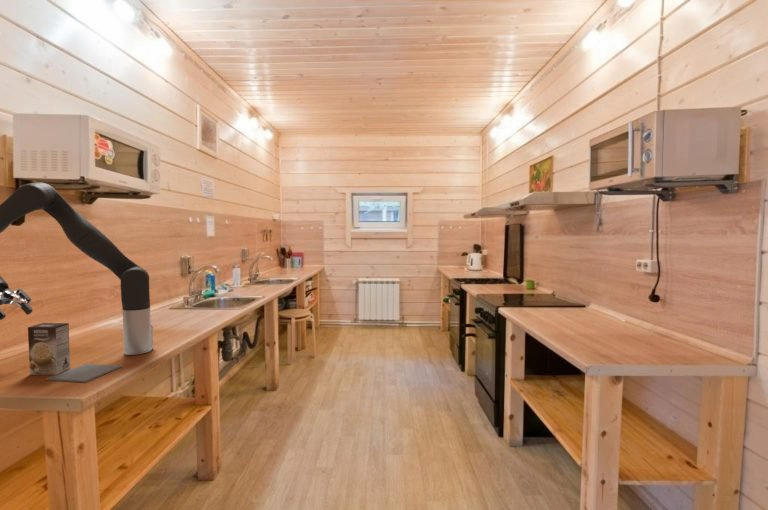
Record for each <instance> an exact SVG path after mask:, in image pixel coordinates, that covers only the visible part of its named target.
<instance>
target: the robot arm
mask: <svg viewBox="0 0 768 510" xmlns="http://www.w3.org/2000/svg"><path fill="white" fill-rule="evenodd" d="M41 210H43V211H44V212H46V213H47V214H48V215H49V216H51V217H52V218H53V219H54V220H55V221H56V222H57V223H58V224H59V226H60V227H61V229H62V231H63V232H64V234H65V236H66V237H67V239H68V240H69V241H70V242H71V244H73V245H74V247H76V248H78V250H80V251H81V252H83V253H84V254H85V255H87V257H89V258H90V259H92V260H94V261H96V262H97V263H99V264H101V265H102V266H104V267H106V269H108V270H110V271H111V273H113V274H114V275H115V276H116V277H117V278H118V279H119V280H120V296H121V297H120V298H121V307H122V309H121V310H122V331H123V332H122V333H123V334H122V336H123V354H124V355H127V356H137V355H142V354H146V353H149V352H151V351H152V350H153V349H154V332H153V328H154V327H153V325H151V324H152V322H151V321H152V320H151V319H152V318H151V299H150V298H151V297H150V274H149V272H148V271H147V270H146V269H144V268H143V267H141V266H140V265H138V264H137V263H135V262H134V261H133V260H131V259H130V258H128V256H126V255H125V254H124V253H123V252H122V251H121V250H120V249H119V248H118V247H117V246H116V245H115V243H113V242H112V240H110V239H109V238H108V237H107V236H106V235H105V234H104V233H103V232H102V231H101V230H99V229H98V228H97V227H96V226H94V225H93V224H92V223H91V222H89V221H88V220H87V219H86V218H85V217H84V216H83V215H82V214H81V213H79V211H77V210H76V209H75V208H73V206H71V205H70V204H69V203H68V201H67V200H66V199H65V198H64V197H63V196H62V195H61V194H60V193H59V191H57V190H56V189H55V188H54V187H53V186H52V185H50V184H48V183H45V182H41V181H37V182H31V183H25V184H22V185H21V186H19V187H18V188H17V189H16V190H14V191H13V193H12V194H10V196H8V198H6V199H5V200H4V201H3V202H2V203H1V204H0V234H1V233H2V232H4V231H5V230H6V229H7V228H8V227H9V226H10V225H11V224H12V223H14V222H15V221H17V220H18V219H19V218H21V217H24V216H25V215H27V214H30V213H33V212H35V211H41ZM31 301H32V298H31V297H30V296H29V295H28V293H26V292H25V291H24V290H23V289H22V288H18V289H17V290H11V289H10V287H9V284H8V282H7V281H6V279H4V278H3V277H2V276H1V275H0V306H3V305H8V304H10V305H11V306H18V307H19V308H20V309H21V310H22V311H23V312H24V313H25V314H26V315H27V316H28V315H31V313H32V312H33V308H32V306H31V305H30V304H29V303H30V302H31ZM6 316H7V315H6V313H5V312H4V311H3V310H2V309H1V308H0V321H2V320H4V319H5V318H6Z"/></svg>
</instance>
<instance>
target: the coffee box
mask: <svg viewBox="0 0 768 510" xmlns="http://www.w3.org/2000/svg"><path fill="white" fill-rule="evenodd" d="M69 324H70V323H69V322H42V323H38V324H35V325H31V326H28V327H27V336H28V339H27V340H28V360H29V361H28V362H29V375H36V376H37V375H38V376H39V375H45V376H46V375H52V376H54V375H57V374H60V373H63V372H65V371H68V370H71V354H70V331H69V330H70V327H69V326H70V325H69Z"/></svg>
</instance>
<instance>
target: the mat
mask: <svg viewBox="0 0 768 510" xmlns="http://www.w3.org/2000/svg"><path fill="white" fill-rule="evenodd" d="M121 368H122V365H114V364H113V365H111V364H96V363H94V364H93V363H84V364H82V365H79V366H77V367H74V368H70V369H68V370H66V371H63V372H61V373H59V374H57V375H52V376H49V377H46V381H50V382H51V381H53V382H68V383H70V382H71V383H84V382H86V383H87V382H90V381H93V380H95V379H97V377H98V378H99V377H102V376H104V374H105V375H107V374H109V373H111V371H112V372H113V371H114V372H115V371H116V370H119V369H121ZM106 373H107V374H106Z"/></svg>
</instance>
